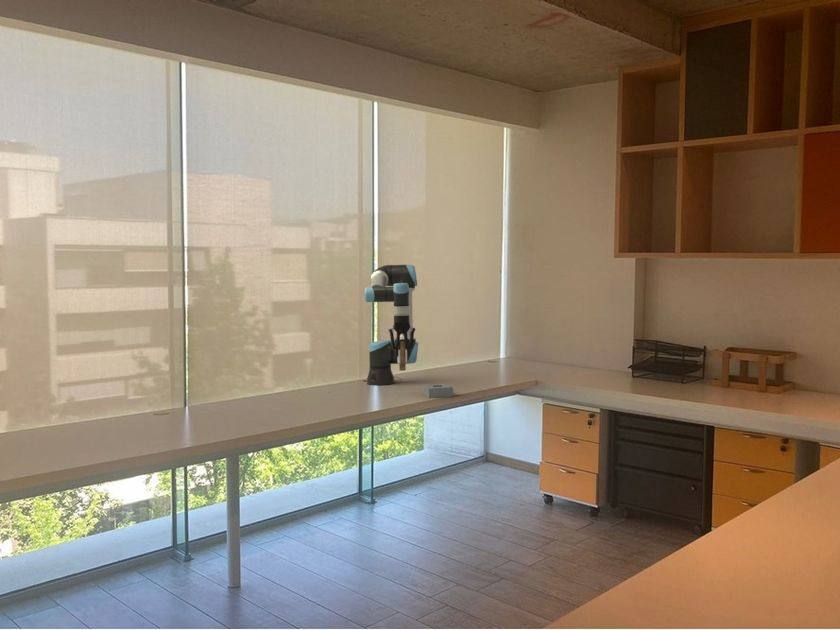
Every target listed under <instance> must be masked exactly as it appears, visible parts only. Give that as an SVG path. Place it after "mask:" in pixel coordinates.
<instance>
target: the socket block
mask: <svg viewBox="0 0 840 630" xmlns="http://www.w3.org/2000/svg"><path fill="white" fill-rule="evenodd" d="M422 395H423V396H425V397H427V398H429V399H434V398H436V399H437V398H447V397H449V398H451V397H454V387H453V386H451V385H449V384H447V383H437V384H422Z"/></svg>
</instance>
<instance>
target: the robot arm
mask: <svg viewBox="0 0 840 630" xmlns="http://www.w3.org/2000/svg"><path fill="white" fill-rule="evenodd" d="M417 279H418V278H417V272H416V267H415V265H413V264H386V265H382V266H380V267H378V268H377V269H375V270H373V272H371V275H370V282H371V284H370V286H367V287H365V288H364V300H365V302H366V303H389V302H390V303H393V314H394V315H393V326H392V327H390V328H388V333H389V337H390V339H384V340H379V341H373V342H371V343H370V344H369V349H368V350H369V351H368V353H369V372H368V374H367V377H366V384H367V385H371V386H386V385H393V384H395V377H394V374H393V371H392V365H399V363H400V350H399V341H405V363H406V364H407V365H408V364H409V365H410V364H415V363H416V362H417V358H418V351H419V342H417V340H416V338H415V337H414V335H415V332H416V328H415V327H414V324H413V322H414V320H413V317H414V316H413V315H414V314H413V292H414V291H415V290H416V287H418V280H417ZM394 332H396V336H395V337H394Z"/></svg>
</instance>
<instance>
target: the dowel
mask: <svg viewBox="0 0 840 630" xmlns="http://www.w3.org/2000/svg"><path fill="white" fill-rule="evenodd" d="M399 350H400V363H399V364H398V365H399V371H406V370H407V368H406V363H405V341H399Z"/></svg>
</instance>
